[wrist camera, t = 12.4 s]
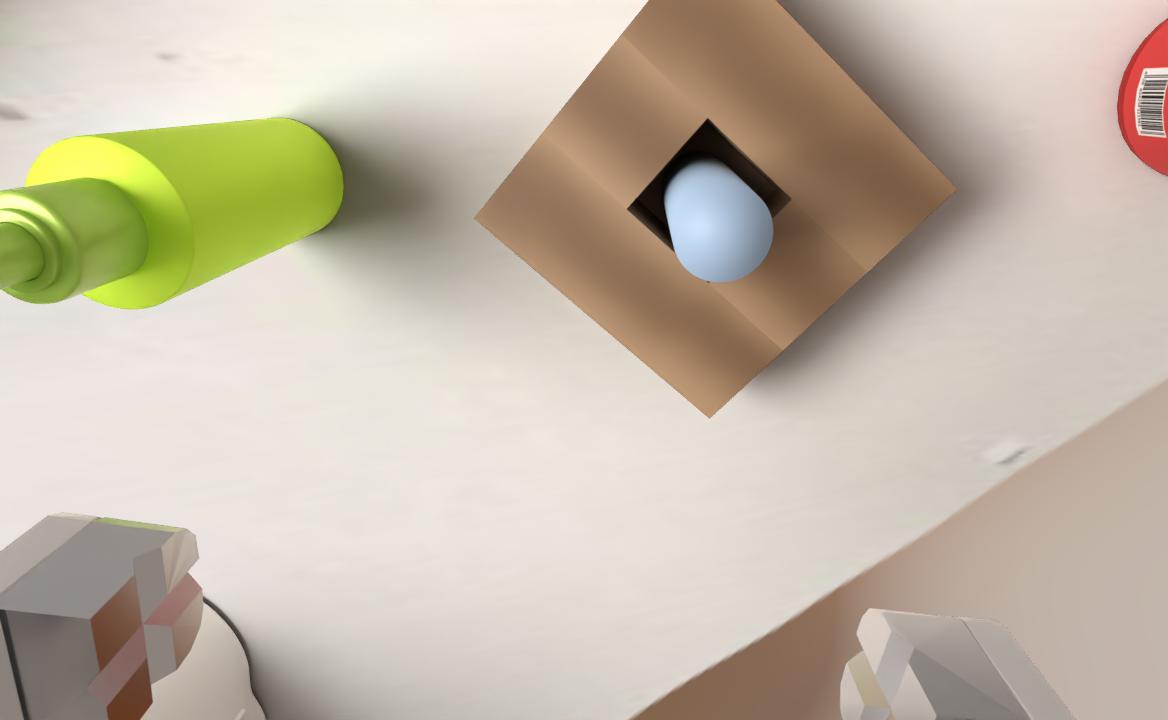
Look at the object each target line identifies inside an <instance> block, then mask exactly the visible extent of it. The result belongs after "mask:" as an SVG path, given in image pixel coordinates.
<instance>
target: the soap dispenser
mask: <svg viewBox="0 0 1168 720" xmlns="http://www.w3.org/2000/svg"><path fill="white" fill-rule="evenodd" d="M343 192H344V181H343V174H342V170H341V166H340V164H339V161H338V159H337V157H336V155H335V153H334V151H333V150H332V148H331V147H330V145H329V144H328V143H327V142H326V141H325V140H324V138H323V137H322V136H320V135H319V134H318V133H317V132H316V131H314V130H313V129H312V128H310V127H308V126H307V125H305V124H303V123H300V122H298V121H295V120H291V119H286V118H267V119H257V120H246V121H235V122H224V123H214V124H203V125H192V126H181V127H171V128H160V129H149V130H138V131H128V132H117V133H106V134H95V135H85V136H76V137H71V138H67V139H64V140H61V141H59V142H57V143H55V144H53V145H51V146H50V147H48V148H47V149H46V150H44V151H43V152H42V153H41V154H40V155H39V156H38V158H37V159H36V160H35V162H34V163H33V165H32V167H31V168H30V171H29V173H28V176H27V179H26V183H25V187H21V188H15V189H9V190H4V191H0V290H1V289H2V290H3V291H5V292H6V293H8V294H10V295H11V296H13V297H15V298H18V299H20V300H23V301H26V302H30V303H35V304H50V303H56V302H60V301H63V300H66V299H68V298H71V297H74V296H76V295H79V294H82V295H84V296H86V297H87V298H89V299H91V300H94V301H96V302H98V303H101V304H104V305H107V306H111V307H115V308H121V309H143V308H149V307H152V306H155V305H158V304H161V303H163V302H165V301H167V300H169V299H172V298H174V297H176V296H178V295H180V294H182V293H184V292H187V291H189V290H191V289H193V288H195V287H197V286H200V285H202V284H204V283H206V282H208V281H210V280H213V279H215V278H217V277H219V276H221V275H223V274H226V273H228V272H230V271H232V270H234V269H236V268H239V267H241V266H243V265H245V264H247V263H249V262H252V261H254V260H256V259H258V258H260V257H262V256H265V255H267V254H269V253H271V252H273V251H275V250H277V249H280V248H282V247H284V246H286V245H288V244H290V243H293V242H295V241H297V240H299V239H301V238H303V237H306V236H308V235H310V234H312V233H314V232H316V231H318V230H320V229H322V228H323V227H325V226H326V225H327V224H329V223H330V222H331V220H332V219H333V218H334V217H335V215H336V214H337V212H338V210H339V208H340V205H341V202H342V198H343Z"/></svg>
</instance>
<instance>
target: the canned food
mask: <svg viewBox="0 0 1168 720" xmlns="http://www.w3.org/2000/svg"><path fill="white" fill-rule="evenodd" d="M1117 111H1118V123H1119V126H1120V129H1121V132H1122V136H1123V138H1124V140H1125V141H1126V143H1127V145H1128V146H1129V148H1130V150H1131V151H1132V152H1133V153H1134V154H1135V155H1136V156H1137V157H1138V158H1139V159H1140V160H1142V161H1143V162H1144V163H1145V164H1147V165H1148V166H1149V167H1151V168H1153V169H1154V170H1156V171H1158V172H1159V173H1161V174H1164V175H1167V176H1168V19H1166V20H1165V21H1164V22H1162V23H1161V24H1160V25H1158V26H1157V27H1156V28H1155V29H1154V30H1153V31H1152V32H1151V33H1150V34H1149V35H1148V36H1147V37H1146V38H1145V40H1144V41H1143V42H1142V44H1141V45H1140V46H1139V48H1138V49H1137V51H1136V52H1135V53H1134V55H1133V56H1132V58H1131V60H1130V62H1129V64H1128V66H1127V68H1126V70H1125V72H1124V75H1123V79H1122V82H1121V85H1120V88H1119V95H1118V104H1117Z"/></svg>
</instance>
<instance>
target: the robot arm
mask: <svg viewBox="0 0 1168 720" xmlns="http://www.w3.org/2000/svg"><path fill="white" fill-rule="evenodd" d="M198 559H199V555H198V548H197V542H196V535H194V534H193V533H192V532H190V531H189V530H187V529H185V528H178V527H171V526H164V525H156V524H149V523H142V522H135V521H128V520H120V519H113V518H106V517H105V518H100V517H95V516H87V515H79V514H72V513H64V512H63V513H58V514H54V515H49V516H47V517H45V518H44V519H43V520H41V521H40V522H39V523H37V524H36V525H35V526H33V527H32V528H31V529H29V530H28V531H27V532H25V533H24V534H23V535H22V536H20V537H19V538H18V539H16V540H15V541H14V542H12V543H11V544H10V545H8V546H7V547H6V548H4V549H3V550H2V551H0V720H266V718H265V715H264V712H263V710H262V708H261V706H260V705H259V703H258V701H257V700H256V698H255V697H254V695H253V693H252V690H251V685H250V674H249V666H248V661H247V658H246V655H245V652H244V650H243V647H242V645H241V644H240V642H239V640H238V638H237V637H236V635H235V634H234V632H233V631H232V629H231V628H230V627H229V626H228V624H227V623H226V622H225V621H224V620H223V619H222V618H221V617H220V616H219V615H218V614H217V613H216V612H215V611H214V610H213V609H211V608H210V607H209V606H208V605H207V604H205V603H204V602H203V593H202V588H201V587H200V586H199V585H198V583H197V582H196V581H195V580H194V579H193V578H192V576H191V575H190V574H189V573H188V571H189V570H190V568H191V567H192V566H193V565H194V564H195V563H196V561H197V560H198ZM856 634H857V637H858V639H859V641H860V643H861V646H862V648H863V650H862V651H861V652H860V653H859V654H857V655H856V656H855V657H853V658H852V659H850V660H849V661H848V662H847V663H846V666H845V670H844V673H843V677H842V680H841V684H840V710H841V715H842V720H1076V719H1075V718H1074V716H1073V715H1072V714H1071V712H1070V711H1069V710H1068V708H1067V707H1066V706H1065V704H1064V703H1063V702H1062V701H1061V699H1060V698H1059V696H1058V695H1057V694H1056V692H1055V691H1054V690H1053V689H1052V687H1051V686H1050V684H1049V683H1048V682H1047V680H1046V679H1045V678H1044V676H1043V675H1042V674H1041V673H1040V671H1039V670H1038V669H1037V667H1036V666H1035V665H1034V663H1033V662H1032V661H1031V659H1030V658H1029V657H1028V655H1027V654H1026V653H1025V651H1024V650H1023V649H1022V647H1021V646H1020V645H1019V643H1018V642H1017V641H1016V639H1015V638H1014V637H1013V636H1012V634H1011V633H1010V631H1009V630H1008V629H1007V628H1006V627H1005V626H1004V625H1002V624H1000V623H999V622H997V621H996V620H992V619H981V618H969V617H959V616H952V617H946V616H937V615H928V614H919V613H910V612H900V611H891V610H882V609H873V608H870V609H869V610H868V611H867V612H866V613H865V614H864V615H863V617H862V619H861V621H860V624H859V627H858V630H857V633H856Z"/></svg>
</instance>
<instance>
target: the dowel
mask: <svg viewBox="0 0 1168 720" xmlns="http://www.w3.org/2000/svg"><path fill="white" fill-rule="evenodd" d="M662 197H663V202H664V206H665V210H666V215H667V219H668V224H669V228H670V233H671V237H672V242H673V246H674V250H675V253H676V255H677V257H678V259H679V261H680V262H681V264H682V265H683V266H684V267H685V268H686V269H687V270H688V271H689V272H690V273H691V274H693V275H694V276H696V277H698V278H700V279H703V280H705V281H710V282H717V283H722V282H731V281H734V280H738V279H740V278H742V277H744V276H746V275H748V274H749V273H751V272H752V271H754V270H755V269H756V268H757V267H758V266H759V265H760V264H761V262H762V261H763V260H764V258H765V257H766V255H767V253H768V251H769V249H770V246H771V243H772V238H773V222H772V217H771V214H770V212H769V210H768V208H767V206H766V204H765V203H764V202H763V200H762V199H761V198H760V197H759V196H758V195H757V194H756V193H755V192H754V191H753V190H752V189H751V188H750V187H749V186H748V185H746V184H745V183H744V182H743V181H742V180H741V179H740V178H739V177H738V176H737V175H736V174H735V173H734V172H733V171H732V170H731V169H730V168H729V167H728V166H727V165H726V164H725V163H724V162H723V161H722V160H721V159H719V158H718V157H717V156H715V155H713V154H710V153H708V152H702V151H694V152H689V153H686V154H684V155H682V156H680V157H678V158H677V159H676V160H674V161H673V162H672V163H671V164H670V166H669V167H668V168H667V170H666V172H665V174H664V177H663V180H662Z"/></svg>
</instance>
